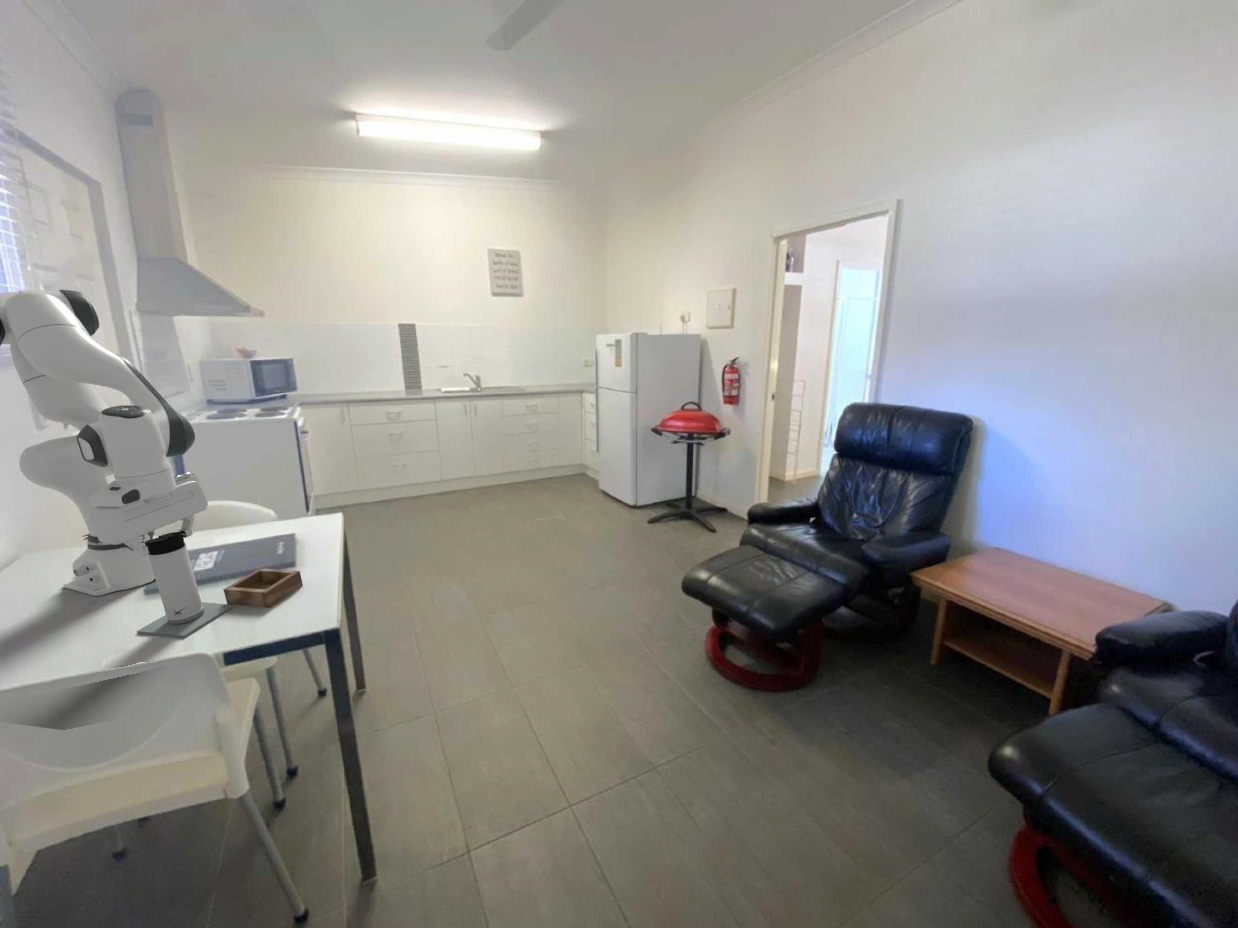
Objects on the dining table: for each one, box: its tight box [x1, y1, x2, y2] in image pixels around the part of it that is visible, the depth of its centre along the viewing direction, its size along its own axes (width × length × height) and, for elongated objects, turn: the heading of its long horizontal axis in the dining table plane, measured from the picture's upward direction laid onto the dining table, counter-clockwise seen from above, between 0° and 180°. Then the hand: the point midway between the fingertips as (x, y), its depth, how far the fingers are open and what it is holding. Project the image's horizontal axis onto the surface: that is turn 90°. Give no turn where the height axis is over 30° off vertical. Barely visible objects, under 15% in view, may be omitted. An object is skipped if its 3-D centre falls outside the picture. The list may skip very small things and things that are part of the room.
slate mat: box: [136, 601, 235, 639], centre depth 115 cm, size 12×12×1 cm
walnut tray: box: [222, 567, 303, 609], centre depth 124 cm, size 11×10×4 cm
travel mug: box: [145, 531, 204, 624], centre depth 112 cm, size 6×7×20 cm
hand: (165, 545), depth 110 cm, fingers open, 8 cm apart
